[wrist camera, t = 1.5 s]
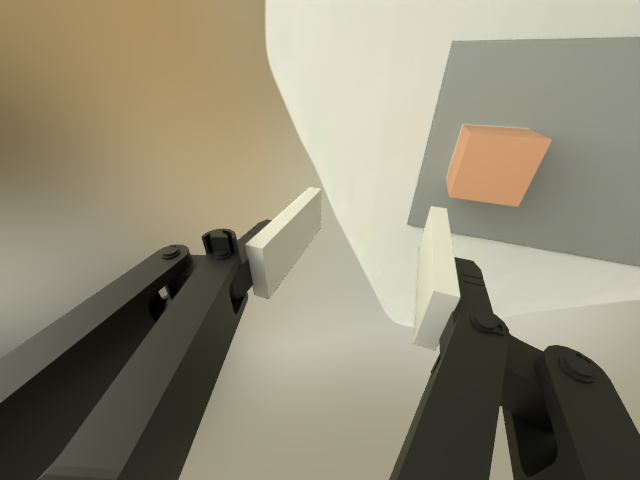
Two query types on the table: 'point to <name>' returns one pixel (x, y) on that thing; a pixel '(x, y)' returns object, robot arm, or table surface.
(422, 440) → the robot arm
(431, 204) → the mat
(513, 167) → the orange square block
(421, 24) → the table surface
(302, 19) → the table surface
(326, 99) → the table surface
